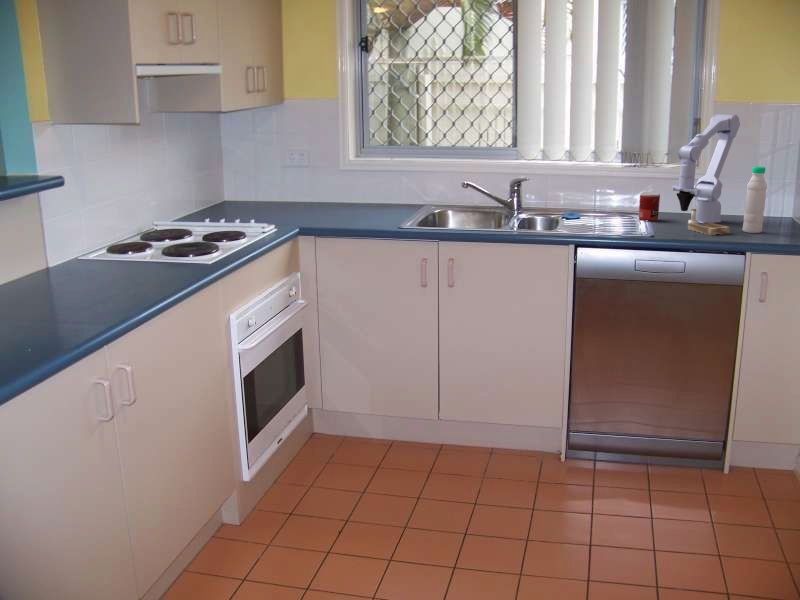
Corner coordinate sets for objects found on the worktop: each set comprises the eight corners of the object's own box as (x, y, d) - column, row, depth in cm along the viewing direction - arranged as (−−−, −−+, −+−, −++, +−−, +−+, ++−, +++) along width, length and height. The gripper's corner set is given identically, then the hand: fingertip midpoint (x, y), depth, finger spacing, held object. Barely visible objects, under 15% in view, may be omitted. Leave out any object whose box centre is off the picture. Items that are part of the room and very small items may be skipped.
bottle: (692, 227, 348) (694, 208, 346) (699, 228, 345) (700, 209, 343) (685, 227, 347) (687, 208, 345) (692, 229, 343) (693, 210, 342)
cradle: (706, 228, 345) (706, 221, 345) (729, 233, 334) (730, 227, 333) (687, 229, 342) (688, 223, 341) (710, 235, 331) (711, 228, 330)
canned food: (653, 222, 358) (655, 195, 356) (635, 220, 363) (637, 193, 360) (660, 219, 364) (663, 193, 362) (642, 217, 369) (644, 191, 366)
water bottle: (763, 234, 333) (770, 168, 327) (743, 233, 335) (750, 167, 328) (759, 230, 340) (766, 166, 334) (740, 230, 341) (747, 165, 335)
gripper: (666, 175, 350) (664, 208, 354) (691, 179, 338) (688, 214, 341) (680, 174, 353) (678, 207, 357) (706, 178, 340) (703, 213, 344)
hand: (684, 210), depth 349 cm, fingers closed
